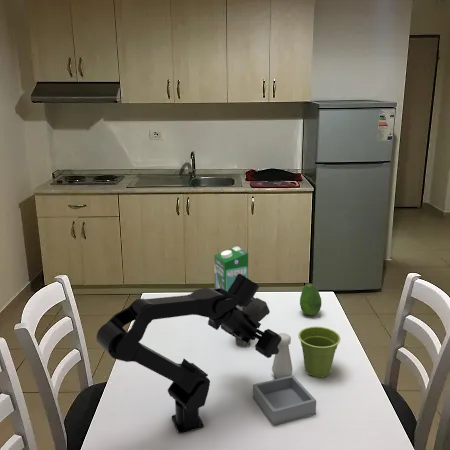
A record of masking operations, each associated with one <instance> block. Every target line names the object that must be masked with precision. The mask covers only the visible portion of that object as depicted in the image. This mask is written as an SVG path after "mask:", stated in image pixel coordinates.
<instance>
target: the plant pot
mask: <svg viewBox="0 0 450 450" xmlns="http://www.w3.org/2000/svg"><path fill="white" fill-rule="evenodd" d="M297 336H298V340H300V345H301V347H302V348H301V349H302V355H303V356H302V358H303V362H304V363H303V364H304V369H305V370H304V371H305V372H306V373H307V374H308V375H311V376H312V377H315V378H324V377H327V376H328V375H329V374H330V373H331V370H332V365H333V362H334V358H335V353H336V350H337V348H338V345H339V344H340V342H341V340H342V339H341V336H340V334H339V333H338V332H336V331H335V330H334V329H330V328H328V327H325V326H323V327H322V326H309V327H308V326H307V327H305V328H302V329H301V330H300V331H299V332H298V334H297Z"/></svg>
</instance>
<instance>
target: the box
mask: <svg viewBox="0 0 450 450" xmlns="http://www.w3.org/2000/svg"><path fill="white" fill-rule="evenodd" d="M252 400H254V402H255V403H256V405H257V406H258V408H259V409H260V410H261V411H262V413H263V415H264V416H265V417H266V418H267V420H268V421H269V422H270V423H271V425H272V427H274V426H279V425H281V424H282V425H283V424H285V423H290V422H293V421H295V420H299V419H303V418H306V417H311V416H314V415H316V414H317V413H316V412H317V399H316V398H315V397H314V396H313V395H312V394H311V393H310V392H309V391H308V389H306V388H305V386H304V385H303V384H302V383H300V381H299V380H298V379H297V378H296V377H295V376H294V374H293V375H292V374H291V375H290V376H287V377H283V378H279V379H277V378H274V379H271V380H268V381H267V380H266V381H263V382H258V383H255V384H254V383H253V384H252Z"/></svg>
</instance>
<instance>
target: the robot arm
mask: <svg viewBox="0 0 450 450" xmlns="http://www.w3.org/2000/svg"><path fill="white" fill-rule="evenodd" d="M259 289H260V285H259V284H258V283H256V282H254V281H253V280H251V279H249V277H248V278H246V277H245V276H244V275H241V274H238V275H237V276H236V278H235V281H234V282H233V284H232V285H231V287H230V288H229V290H228V291H226V290H224V289H222V288H217V289H215V288H211V287H207V286H206V287H202V288H199V289H195V290H194V291H192V293H190V294H186V295H174V296H165V297H156V298H155V297H154V298H136V299H135V300H134V301H133V302H131V304H130V305H129V306H127V307H126V308H124V309H122V310H120V311H118V312H117V313H115V314H114V315H113V316H112V317H111V318H110V319H108V321H107V322H106V323H105V324H103V325H102V326H101V327H100V328H99V329H98V330H97V333H96V343H97V344H98V345H99V346H100V347H101V349H103V350H104V351H105V352H106V353H107V354H108V355H109V356H110V357H111V358H112V359H115V360H116V361H117V360H118V361H121V362H125V363H131V362H134V363H137V364H139V365H141V366H142V367H144V368H147V369H148V370H150V371H152V372H154V373H156V374H157V375H159V376H162V377H163V378H166V379H167V380H169V381H172V383H171V384H170V385H169V387H168V388H167V393H168V394H169V396H170V397H171V398H172V399H173V400H174V404H175V405H174V406H175V414H172V415H171V420H172V422H173V424H174V427H175V428H176V429H175V430H176V431H177V433H178V434H182V433H185V432H188V431H189V432H190V431H193V430H196V429H197V430H198V429H201V428H204V422H203V420H202V418H201V417H200V408H202V407H204V406H205V404H206V401H207V397H208V395H209V390H210V386H211V380H210V379H209V378H208V376H209V374H208V373H206V372H205V371H204V370H203V369H201V368H200V367H199V366H198V365H196V364H195V363H193V362H190V361H188V360H187V359H185V358H182V359H183V360H182V361H181V362H180V363H177V362H175V361H173V360H171V359H170V358H168V357H166V356H164V355H162V354H161V353H159V352H157V351H155V350H154V349H152V348H150V347H148V346H146V345H145V344H142V343H141V342H140V341H141V340H142V339H143V337H144V335H145V333H146V330H147V328H148V327H149V325H150V324H151V323H152V321H155V320H160V319H161V320H162V319H169V318H170V319H171V318H177V317H184V316H185V317H186V316H199V317H204V318H208V322H207V325H208V326H209V327H211V328H213V329H214V330H216V331H218V330H219V329H221V330H223V331H224V332H225V333H227V334H228V335H231V336H232V337H234V338H235V337H238V338H239V339H241V340H242V341H244V342H246V343H248V342H249V340H250V341H256V340H257V342H256V343H255V344H254V345H255V348H254V349H255V351H257V353H259V354H261V355H262V356H264V357H265V358H267V359H270V358H271V357H272V356H273V355H274V356H275V354H278V352H279V349H278V347H277V346H278V345H279V343H280V342H281V340H282V338H281V336H280V335H278V334H279V333H277V332H275V331H273V330H271V329H269V328H267V329H265V330H264V331H262V330H260V326H261V325H262V323H260V321H262V320H263V319H264V318H265V317H267V316H268V315H270V312H271V311H270V309H269V306H268V304H267V302H266V301H265V300H263V299H261V298H259V297H255V295H256V293H257V292H258V290H259ZM237 305H238V306H240V307H243V308H242V311H241V310H240V309H238V308H237V307H236V306H237ZM132 322H133V323H132ZM129 323H132V326H131V327H130V328H129V330H128V331H127V330H126V329H125V328H124V327H125V326H126V325H128V324H129Z"/></svg>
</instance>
